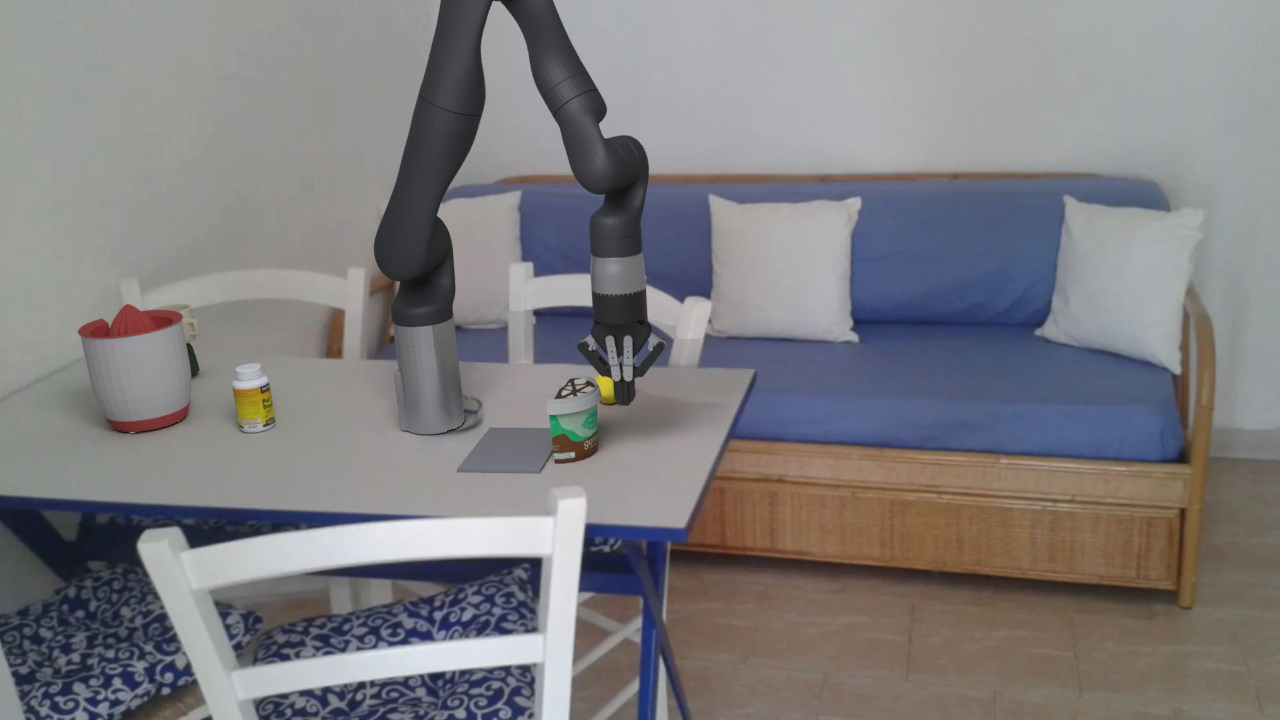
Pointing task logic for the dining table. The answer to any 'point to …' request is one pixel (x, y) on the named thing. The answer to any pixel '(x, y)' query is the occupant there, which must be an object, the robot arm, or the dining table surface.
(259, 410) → the supplement bottle
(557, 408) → the food container
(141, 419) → the citrus juicer
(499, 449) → the charcoal mat
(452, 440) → the dining table surface
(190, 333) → the character mug
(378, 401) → the dining table surface
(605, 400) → the lemon
